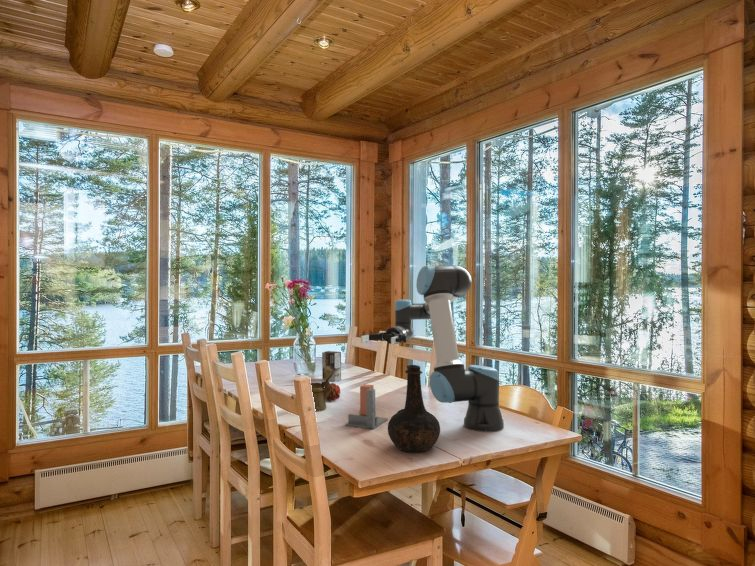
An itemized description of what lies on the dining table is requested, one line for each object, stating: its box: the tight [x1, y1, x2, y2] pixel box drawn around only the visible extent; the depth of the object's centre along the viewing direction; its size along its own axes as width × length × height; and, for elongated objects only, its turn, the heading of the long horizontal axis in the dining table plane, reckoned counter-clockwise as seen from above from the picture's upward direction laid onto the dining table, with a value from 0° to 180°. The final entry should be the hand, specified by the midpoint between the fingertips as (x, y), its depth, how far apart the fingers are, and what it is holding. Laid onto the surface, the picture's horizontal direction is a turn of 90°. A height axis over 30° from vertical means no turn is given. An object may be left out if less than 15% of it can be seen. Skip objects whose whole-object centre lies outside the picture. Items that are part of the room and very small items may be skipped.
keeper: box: [345, 389, 389, 430], centre depth 206 cm, size 15×12×15 cm
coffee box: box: [321, 350, 342, 382], centre depth 294 cm, size 9×6×16 cm
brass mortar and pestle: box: [310, 368, 336, 412], centre depth 229 cm, size 9×14×18 cm, turn 96°
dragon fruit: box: [323, 382, 341, 401], centre depth 247 cm, size 8×8×12 cm
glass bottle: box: [387, 364, 441, 453], centre depth 176 cm, size 18×18×28 cm
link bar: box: [359, 384, 375, 415], centre depth 207 cm, size 4×4×14 cm
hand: (376, 340), depth 215 cm, fingers open, 13 cm apart
